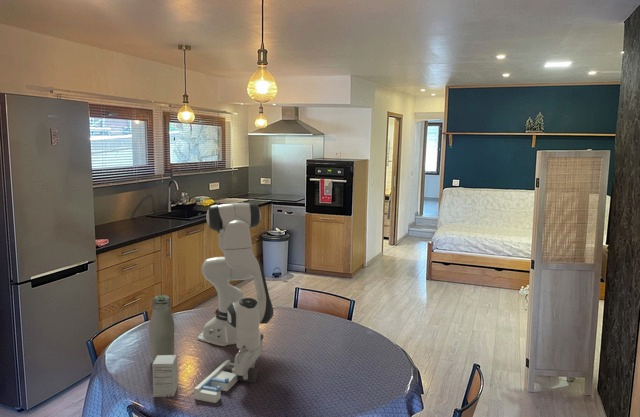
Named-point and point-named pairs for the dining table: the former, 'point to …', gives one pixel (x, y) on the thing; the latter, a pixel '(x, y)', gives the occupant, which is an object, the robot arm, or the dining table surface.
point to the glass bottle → (161, 327)
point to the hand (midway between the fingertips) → (248, 375)
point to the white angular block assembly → (215, 384)
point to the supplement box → (165, 375)
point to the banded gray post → (252, 376)
